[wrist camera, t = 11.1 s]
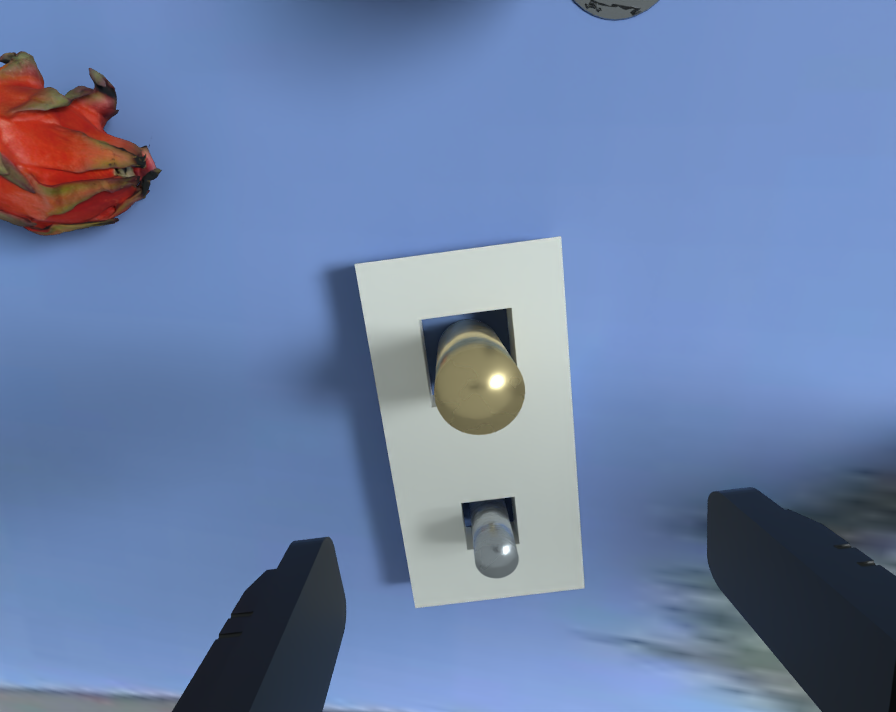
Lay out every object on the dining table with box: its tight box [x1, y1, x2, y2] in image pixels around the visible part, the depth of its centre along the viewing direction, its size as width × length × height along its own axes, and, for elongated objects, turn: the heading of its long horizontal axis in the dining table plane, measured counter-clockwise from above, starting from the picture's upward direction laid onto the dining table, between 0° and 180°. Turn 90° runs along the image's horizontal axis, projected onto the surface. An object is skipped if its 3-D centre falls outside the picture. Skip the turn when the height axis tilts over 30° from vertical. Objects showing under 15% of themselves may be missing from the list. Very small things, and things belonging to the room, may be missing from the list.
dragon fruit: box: [0, 51, 162, 235], centre depth 22 cm, size 8×8×12 cm
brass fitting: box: [434, 319, 525, 435], centre depth 24 cm, size 4×4×9 cm
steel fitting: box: [469, 498, 519, 579], centre depth 28 cm, size 3×3×6 cm
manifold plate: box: [355, 236, 585, 608], centre depth 28 cm, size 12×24×2 cm, turn 7°
